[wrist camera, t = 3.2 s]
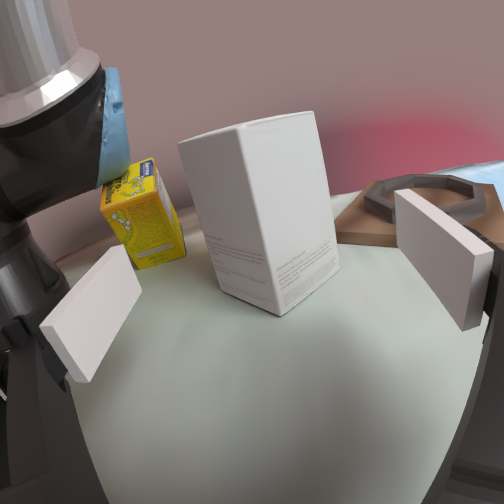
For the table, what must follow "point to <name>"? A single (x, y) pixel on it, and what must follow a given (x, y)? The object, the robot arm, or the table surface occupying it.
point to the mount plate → (431, 189)
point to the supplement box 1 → (143, 215)
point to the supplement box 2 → (264, 208)
